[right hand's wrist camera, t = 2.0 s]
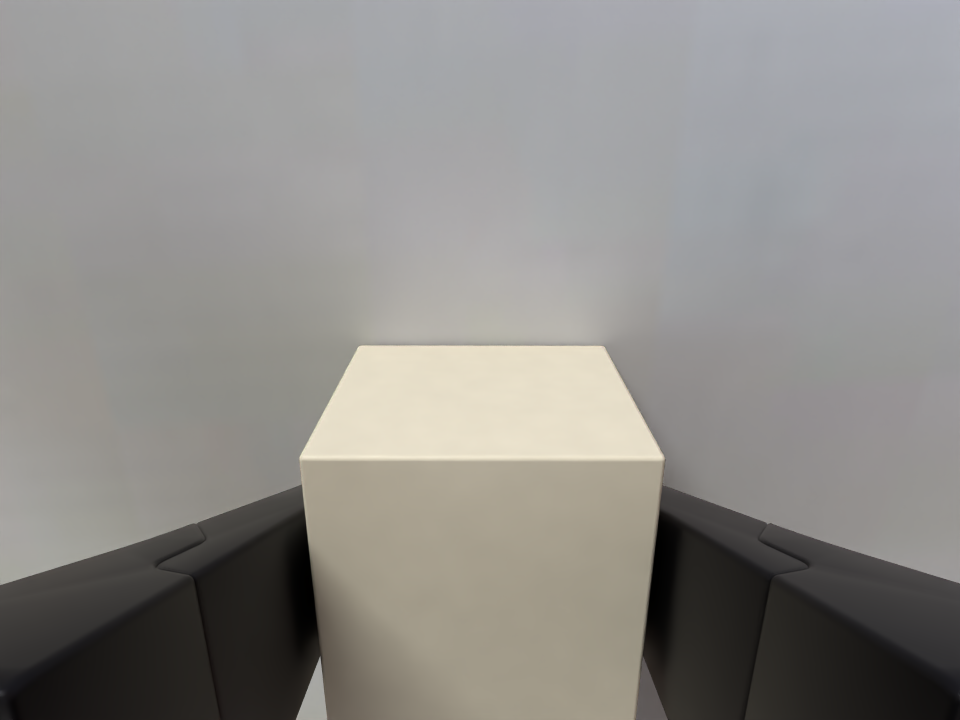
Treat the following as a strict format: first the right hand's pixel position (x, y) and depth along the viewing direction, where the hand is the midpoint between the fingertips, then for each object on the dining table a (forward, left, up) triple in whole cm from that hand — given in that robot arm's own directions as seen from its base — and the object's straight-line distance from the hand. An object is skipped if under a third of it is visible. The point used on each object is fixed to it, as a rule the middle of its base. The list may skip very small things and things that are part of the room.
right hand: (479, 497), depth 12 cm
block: (0, 0, -1) cm, 1 cm away
